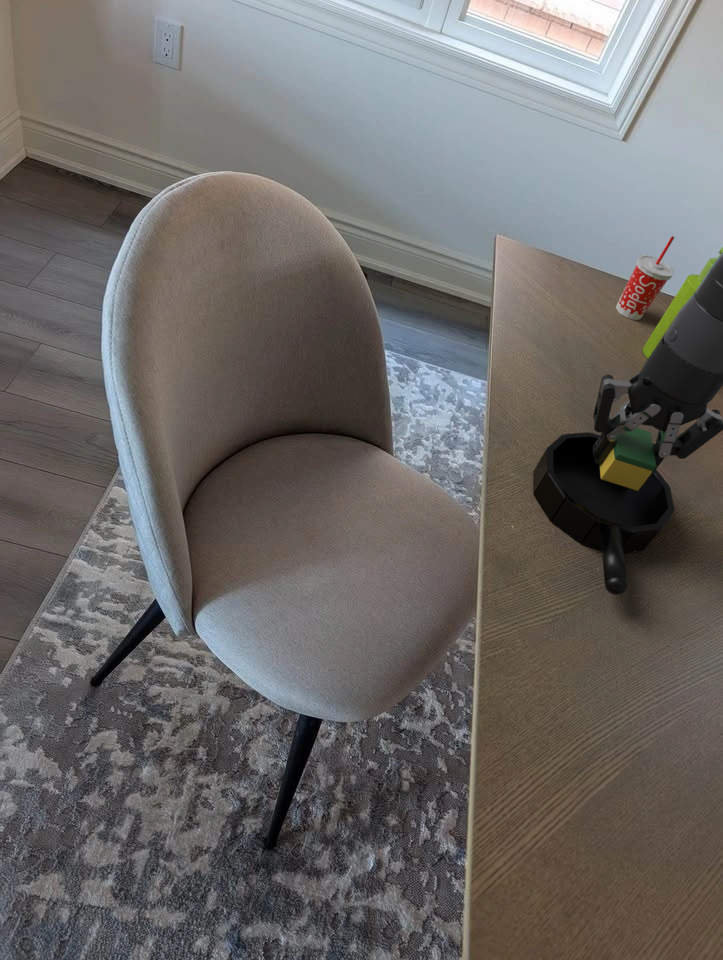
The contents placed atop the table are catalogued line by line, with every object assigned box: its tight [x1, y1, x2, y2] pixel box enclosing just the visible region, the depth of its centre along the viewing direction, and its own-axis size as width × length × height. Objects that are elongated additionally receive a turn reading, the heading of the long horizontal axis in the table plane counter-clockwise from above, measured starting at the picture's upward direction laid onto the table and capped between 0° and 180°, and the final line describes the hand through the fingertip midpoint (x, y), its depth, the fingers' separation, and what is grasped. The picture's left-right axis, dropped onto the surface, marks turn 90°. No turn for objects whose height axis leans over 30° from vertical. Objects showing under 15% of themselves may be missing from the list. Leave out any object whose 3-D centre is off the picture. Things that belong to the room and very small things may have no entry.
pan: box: [532, 431, 675, 596], centre depth 86 cm, size 24×16×4 cm, turn 170°
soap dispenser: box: [642, 246, 723, 359], centre depth 112 cm, size 6×7×20 cm
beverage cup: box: [615, 235, 675, 321], centre depth 122 cm, size 6×6×14 cm
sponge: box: [600, 427, 656, 491], centre depth 85 cm, size 6×4×4 cm
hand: (618, 465), depth 86 cm, fingers closed on sponge, 4 cm apart
